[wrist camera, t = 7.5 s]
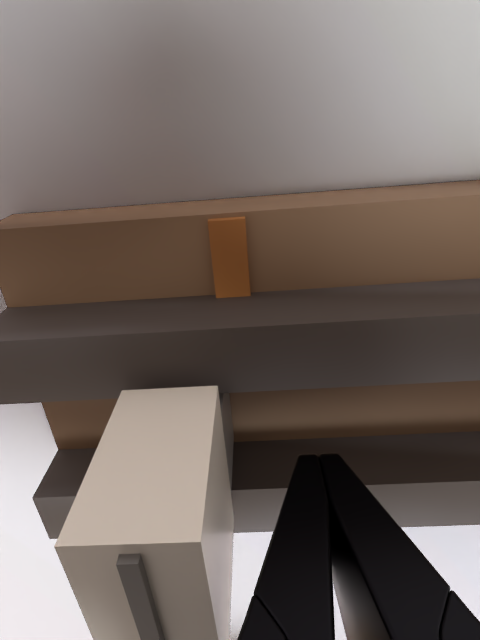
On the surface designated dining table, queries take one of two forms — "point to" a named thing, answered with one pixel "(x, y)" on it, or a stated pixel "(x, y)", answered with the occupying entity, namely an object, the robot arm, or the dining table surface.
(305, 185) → the dining table surface
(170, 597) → the fader tab
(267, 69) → the dining table surface
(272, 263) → the fader board
